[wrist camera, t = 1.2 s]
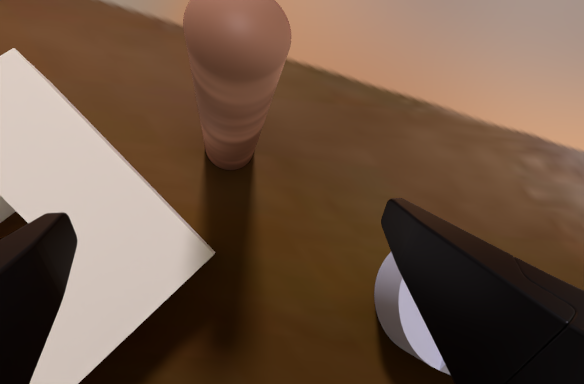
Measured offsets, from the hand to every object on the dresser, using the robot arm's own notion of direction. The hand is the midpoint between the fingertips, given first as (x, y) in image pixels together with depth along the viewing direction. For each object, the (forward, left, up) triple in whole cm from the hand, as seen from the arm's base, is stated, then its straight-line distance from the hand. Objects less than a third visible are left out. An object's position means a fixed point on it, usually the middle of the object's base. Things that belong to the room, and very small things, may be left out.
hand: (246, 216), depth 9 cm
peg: (+5, -4, -13) cm, 15 cm away
